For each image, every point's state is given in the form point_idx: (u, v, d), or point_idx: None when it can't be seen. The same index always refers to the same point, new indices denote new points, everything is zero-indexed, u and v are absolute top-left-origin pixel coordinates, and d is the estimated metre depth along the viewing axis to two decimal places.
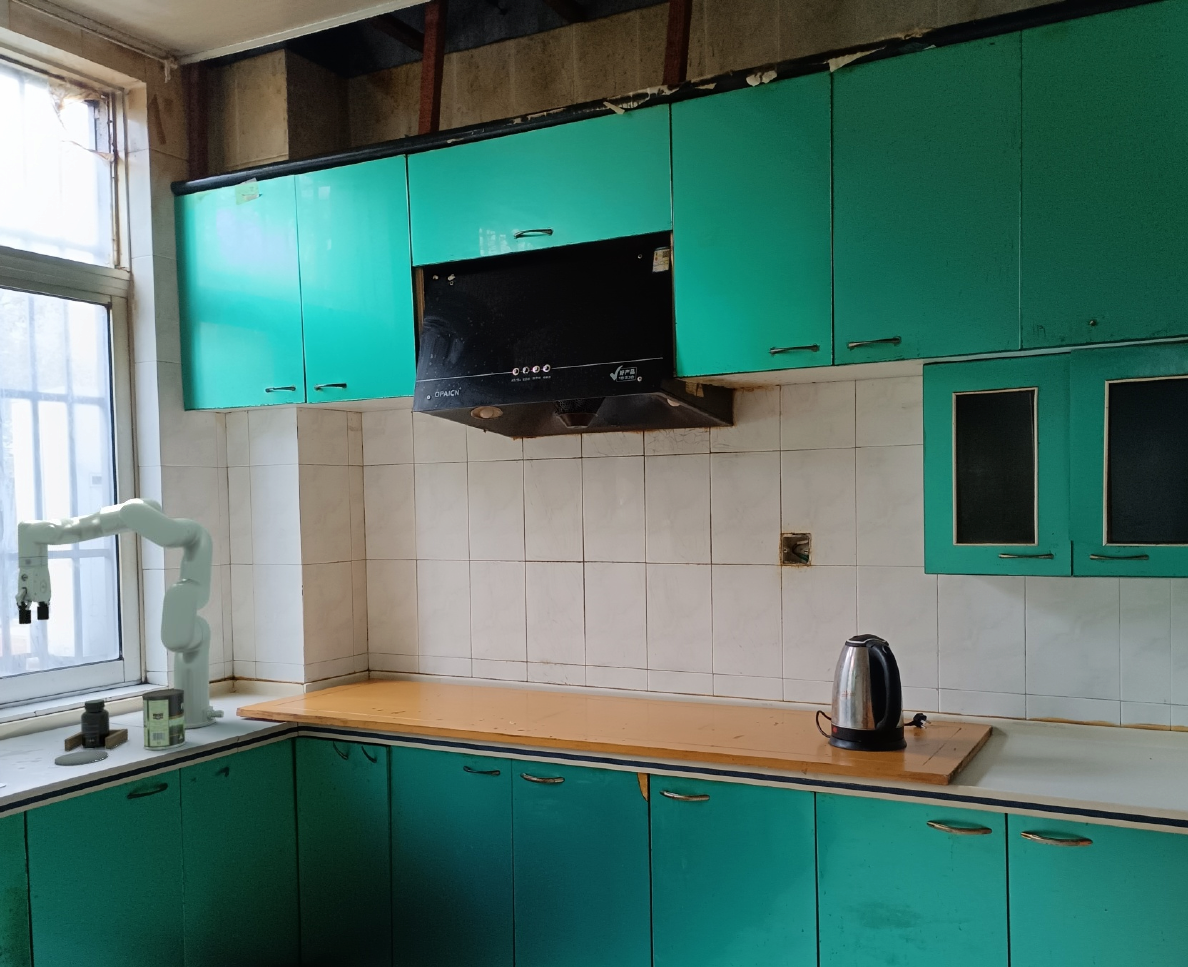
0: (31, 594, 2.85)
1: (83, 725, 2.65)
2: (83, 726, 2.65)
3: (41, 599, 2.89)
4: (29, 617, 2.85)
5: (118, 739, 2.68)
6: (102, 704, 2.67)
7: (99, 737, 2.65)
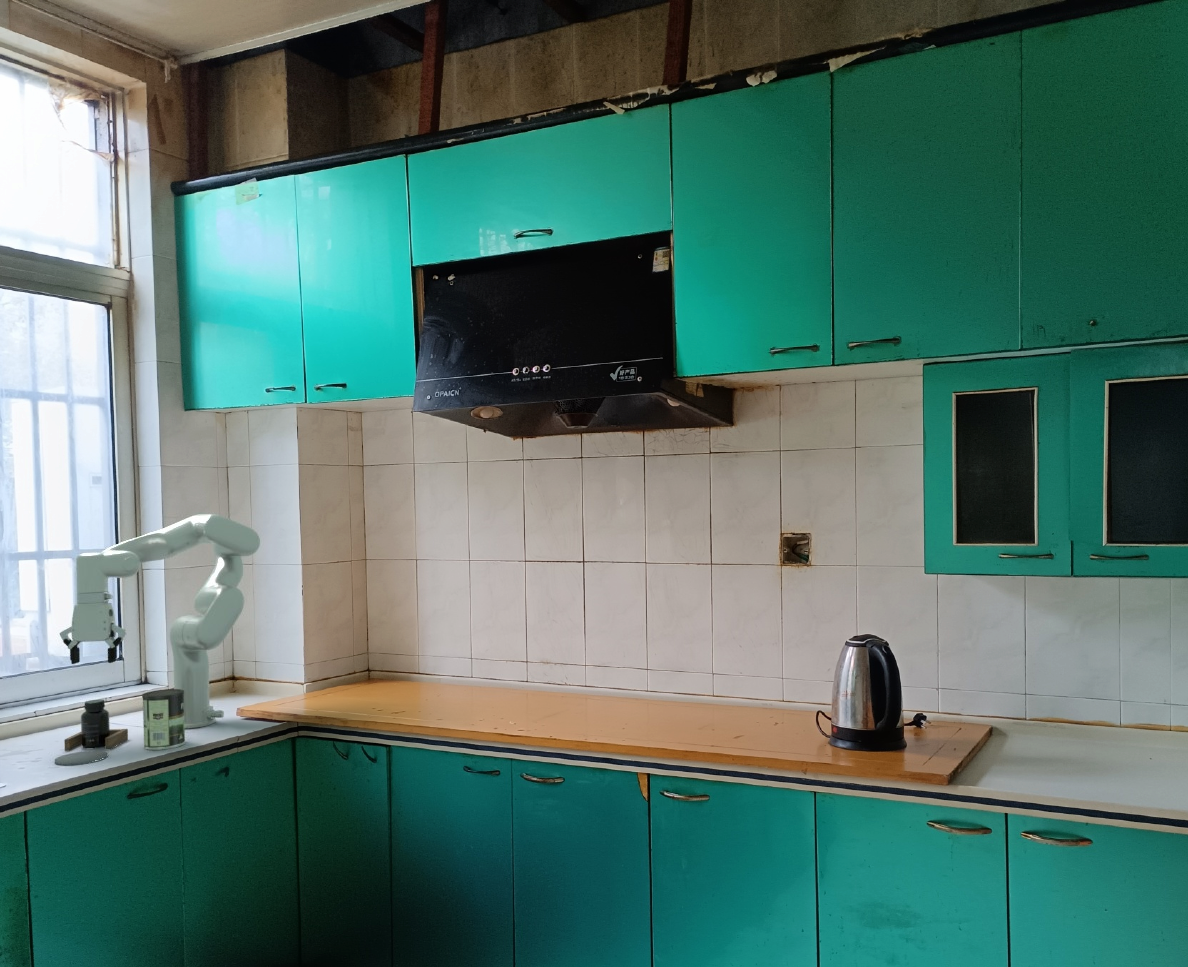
0: None
1: (83, 725, 2.65)
2: (83, 726, 2.65)
3: None
4: None
5: (118, 739, 2.68)
6: (102, 704, 2.67)
7: (99, 737, 2.65)
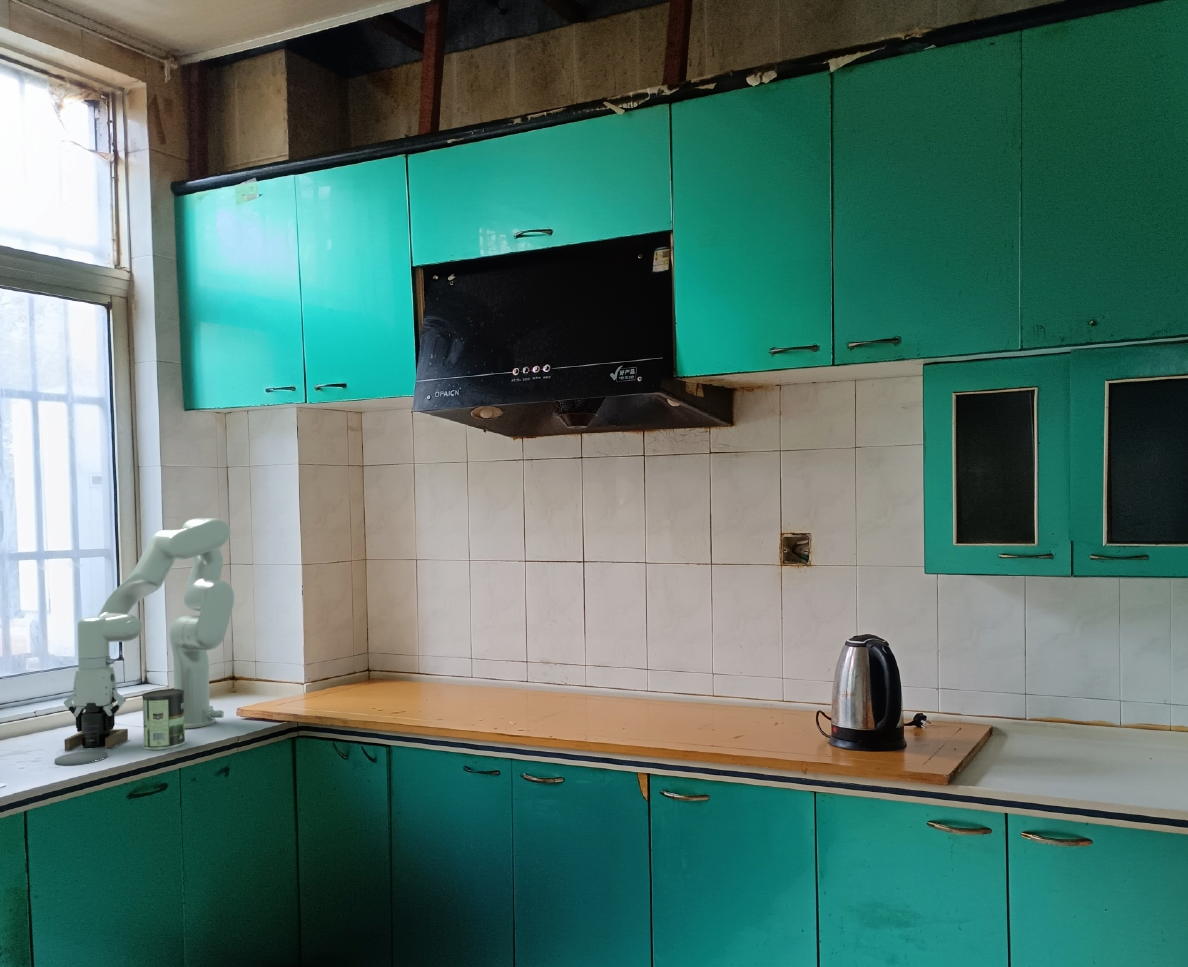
0: None
1: (83, 725, 2.64)
2: (83, 726, 2.64)
3: None
4: None
5: (118, 739, 2.68)
6: None
7: (99, 737, 2.65)
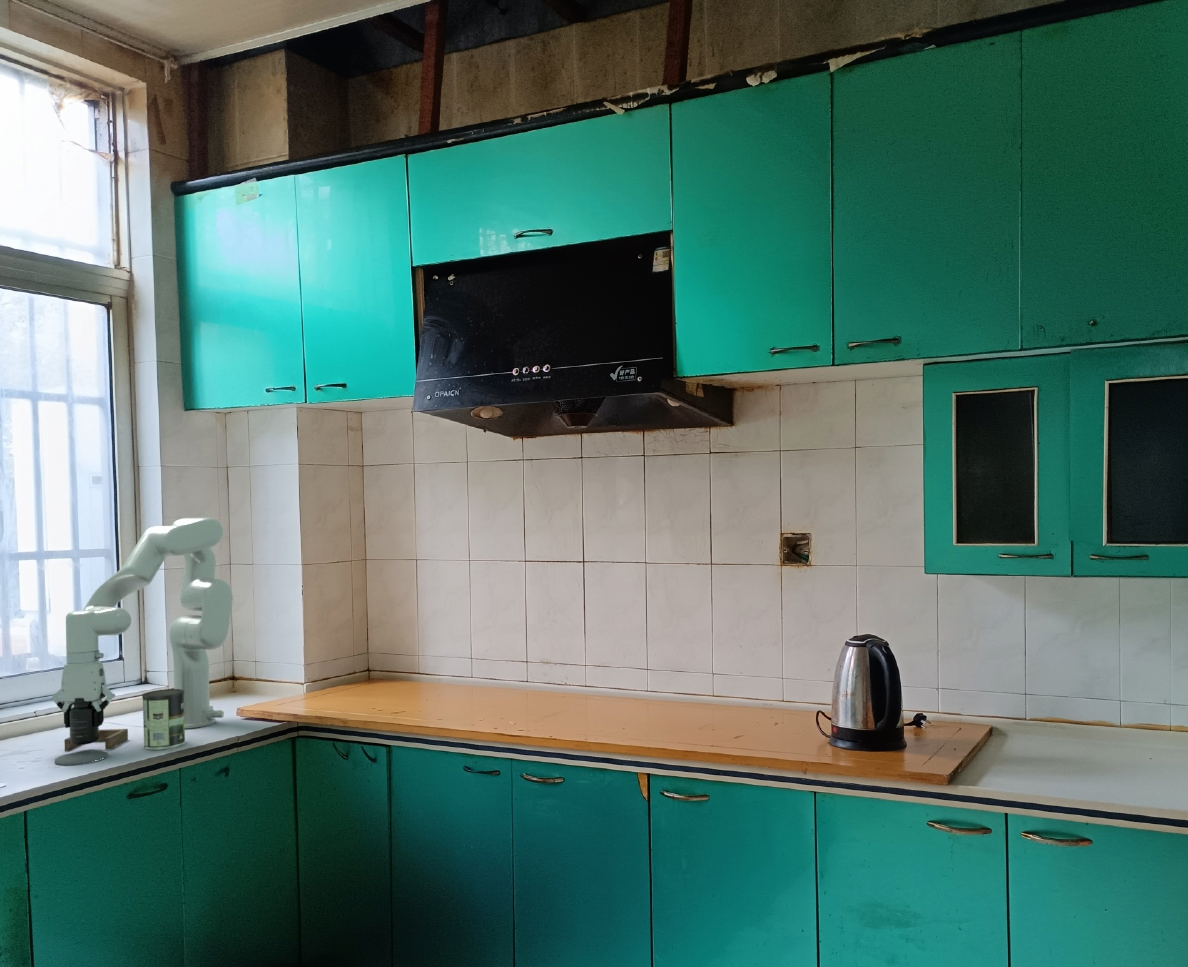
0: None
1: (71, 721, 2.58)
2: (71, 722, 2.58)
3: None
4: None
5: (118, 739, 2.68)
6: None
7: (88, 733, 2.59)
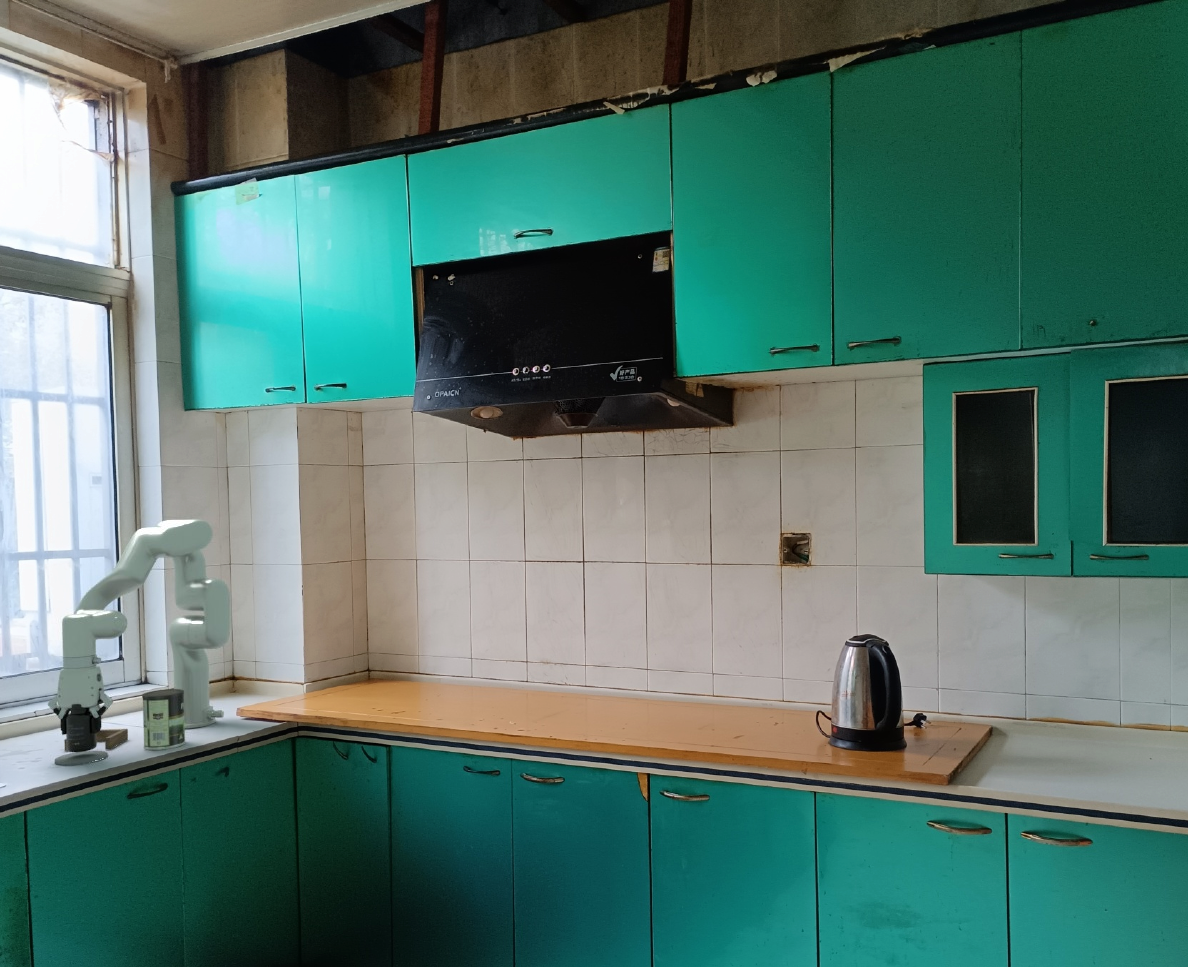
0: None
1: (68, 728, 2.51)
2: (68, 728, 2.51)
3: None
4: None
5: (118, 739, 2.68)
6: None
7: (85, 740, 2.51)
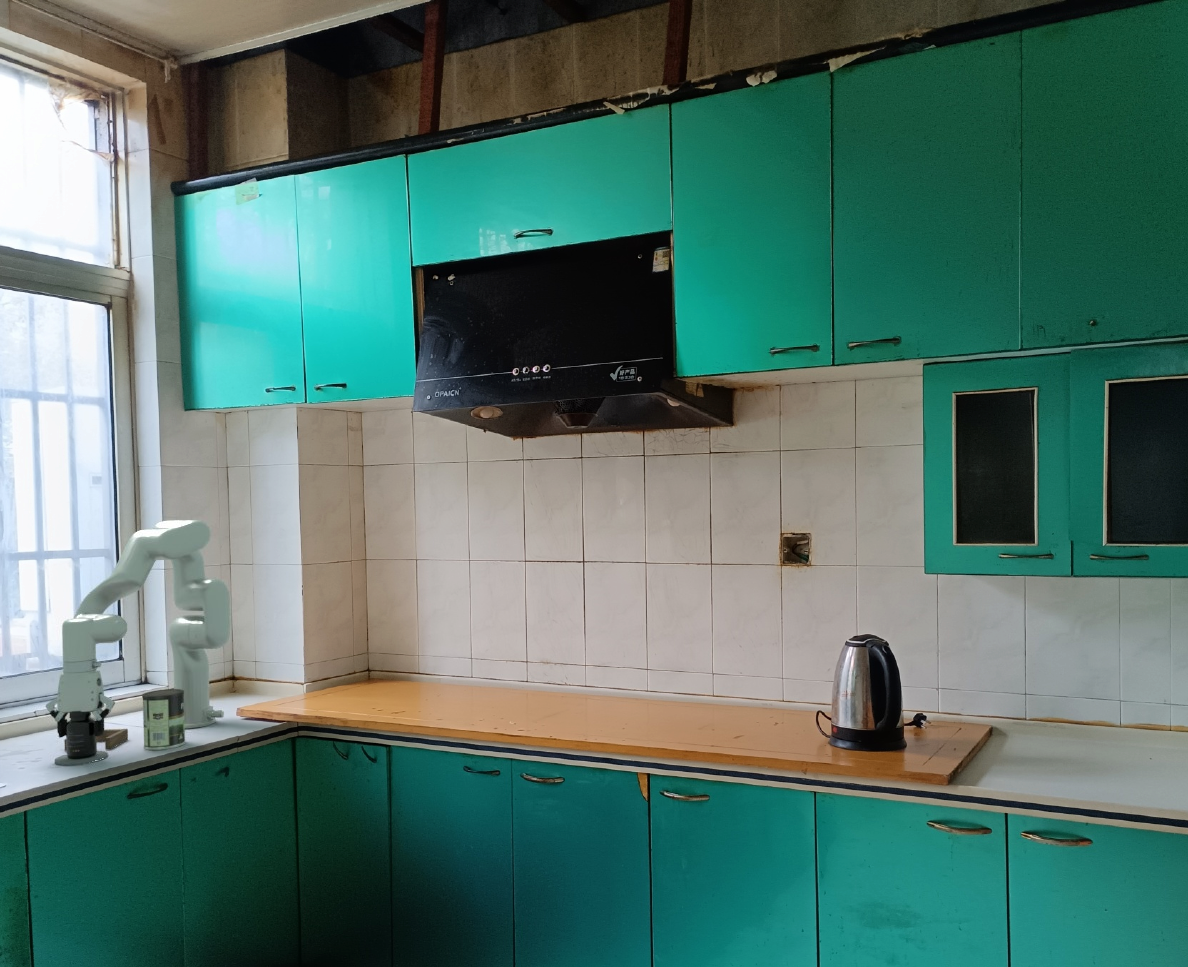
0: None
1: (68, 735, 2.51)
2: (68, 736, 2.51)
3: None
4: None
5: (118, 739, 2.68)
6: (88, 712, 2.53)
7: (85, 747, 2.51)
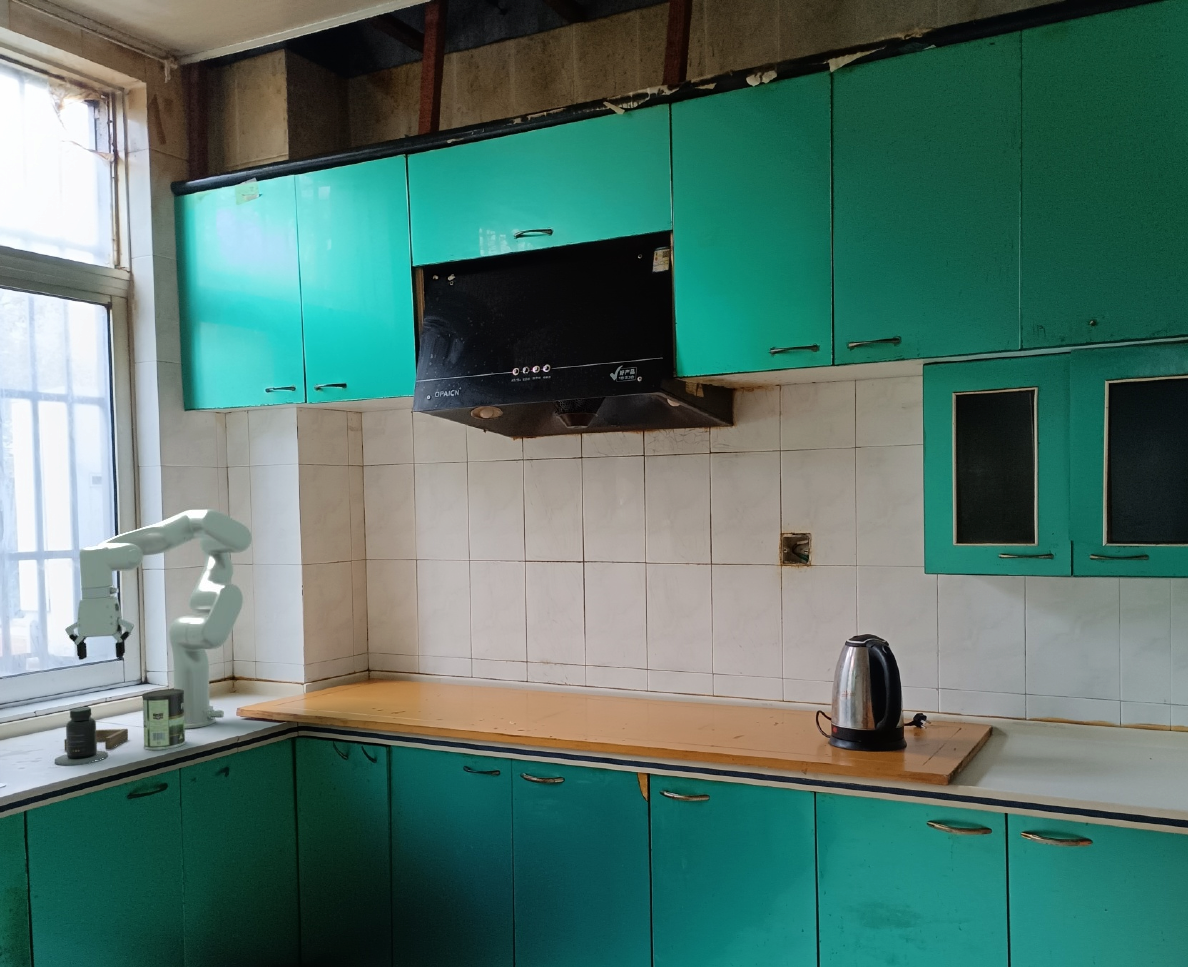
0: None
1: (68, 735, 2.51)
2: (68, 736, 2.51)
3: None
4: None
5: (118, 739, 2.68)
6: (88, 712, 2.53)
7: (85, 747, 2.51)
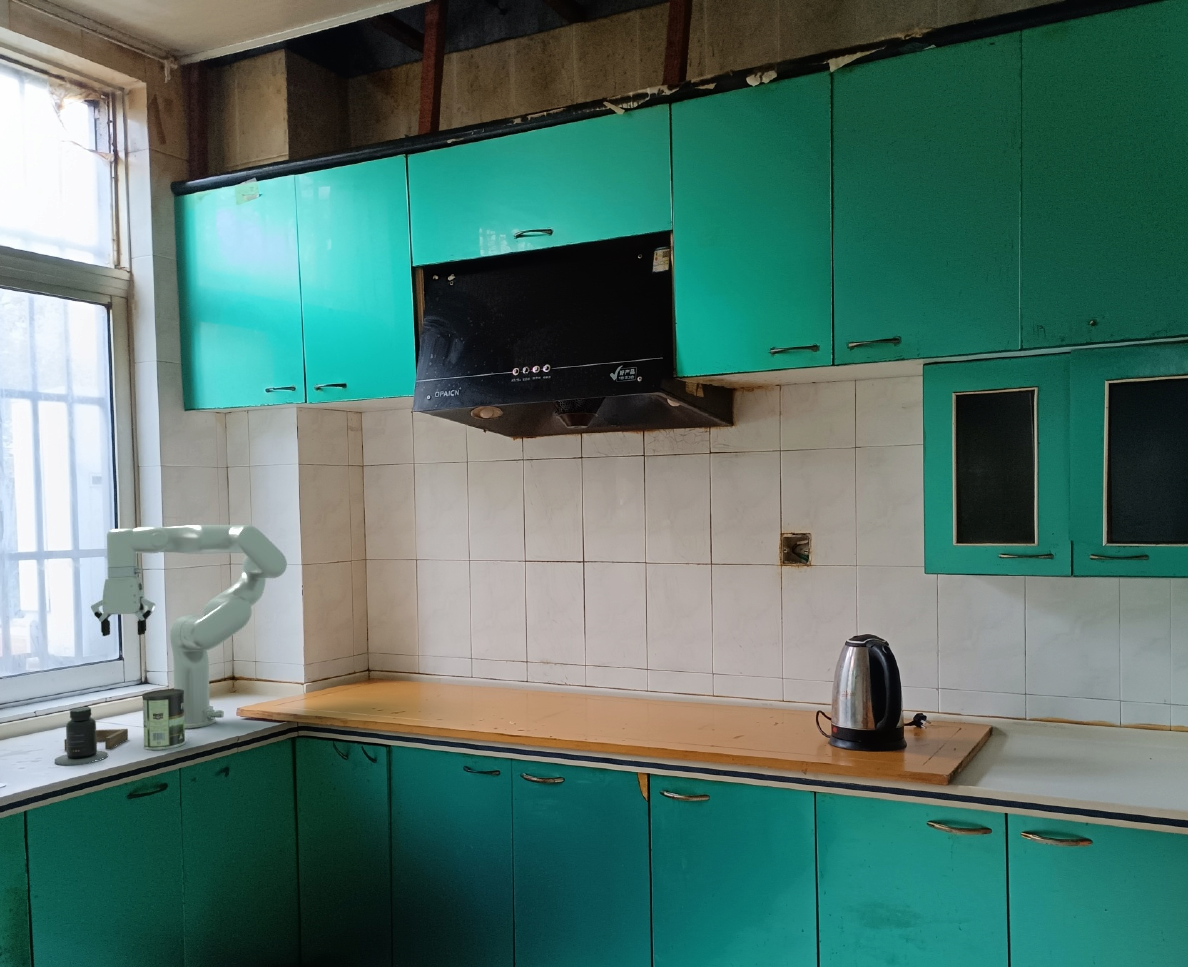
0: None
1: (68, 735, 2.51)
2: (68, 736, 2.51)
3: None
4: None
5: (118, 739, 2.68)
6: (88, 712, 2.53)
7: (85, 747, 2.51)
